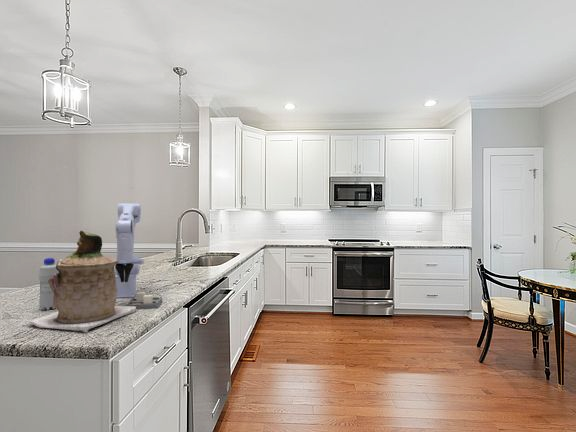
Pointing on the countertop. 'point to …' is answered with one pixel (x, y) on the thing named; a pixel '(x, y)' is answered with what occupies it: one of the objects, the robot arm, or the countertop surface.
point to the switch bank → (140, 305)
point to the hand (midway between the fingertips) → (124, 281)
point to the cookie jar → (84, 289)
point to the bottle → (46, 284)
